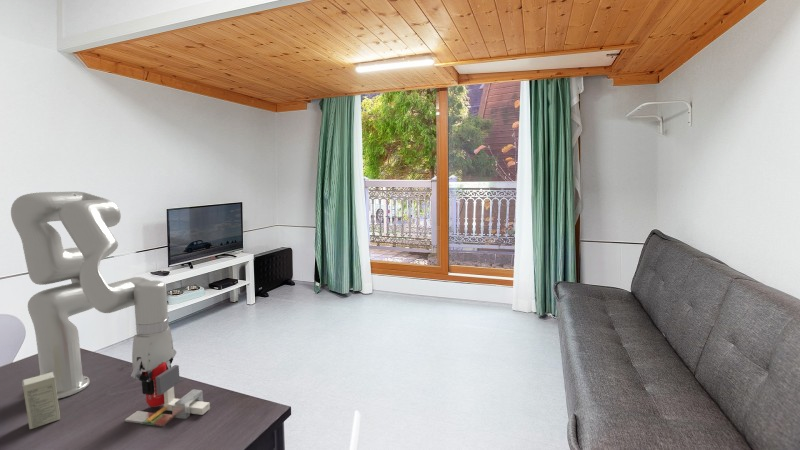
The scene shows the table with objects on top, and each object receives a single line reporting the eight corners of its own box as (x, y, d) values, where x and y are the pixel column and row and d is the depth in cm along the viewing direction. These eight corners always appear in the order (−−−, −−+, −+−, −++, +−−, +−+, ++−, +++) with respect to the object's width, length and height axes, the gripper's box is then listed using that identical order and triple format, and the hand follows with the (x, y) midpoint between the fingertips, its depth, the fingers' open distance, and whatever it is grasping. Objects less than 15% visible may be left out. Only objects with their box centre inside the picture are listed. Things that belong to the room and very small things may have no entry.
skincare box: (59, 412, 108) (54, 370, 107) (60, 419, 105) (56, 376, 104) (27, 423, 104) (22, 379, 102) (27, 430, 100) (22, 385, 99)
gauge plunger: (146, 423, 103) (143, 384, 102) (177, 400, 114) (174, 365, 113) (187, 428, 101) (184, 389, 100) (214, 404, 112) (212, 368, 110)
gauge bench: (124, 421, 104) (123, 406, 104) (157, 398, 115) (156, 385, 115) (174, 428, 102) (173, 412, 101) (203, 404, 112) (202, 390, 112)
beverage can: (158, 409, 108) (155, 367, 106) (142, 406, 109) (139, 365, 108) (172, 398, 113) (170, 358, 112) (157, 396, 114) (154, 357, 113)
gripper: (164, 314, 117) (168, 372, 119) (113, 337, 101) (118, 403, 103) (186, 316, 116) (190, 374, 118) (138, 339, 99) (143, 407, 101)
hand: (156, 387), depth 110 cm, fingers closed on beverage can, 5 cm apart
